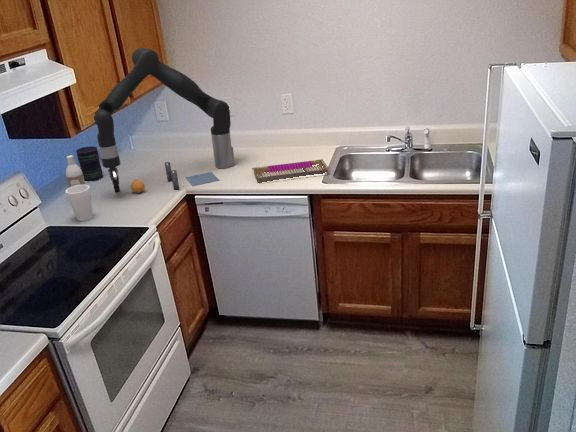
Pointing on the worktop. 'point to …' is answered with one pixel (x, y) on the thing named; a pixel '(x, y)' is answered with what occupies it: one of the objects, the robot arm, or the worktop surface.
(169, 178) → the post
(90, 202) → the foam cup
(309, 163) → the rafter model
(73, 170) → the bath foam
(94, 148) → the storage jar
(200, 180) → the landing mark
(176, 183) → the post
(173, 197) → the worktop surface
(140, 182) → the ball
